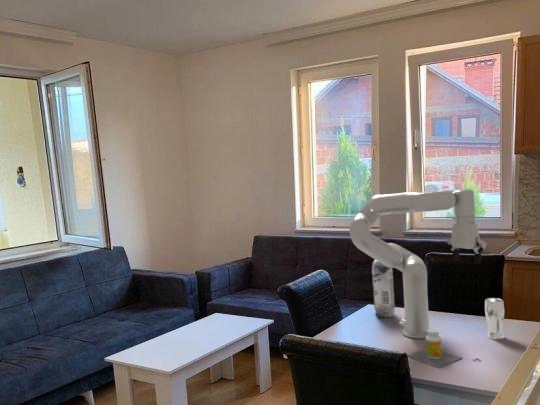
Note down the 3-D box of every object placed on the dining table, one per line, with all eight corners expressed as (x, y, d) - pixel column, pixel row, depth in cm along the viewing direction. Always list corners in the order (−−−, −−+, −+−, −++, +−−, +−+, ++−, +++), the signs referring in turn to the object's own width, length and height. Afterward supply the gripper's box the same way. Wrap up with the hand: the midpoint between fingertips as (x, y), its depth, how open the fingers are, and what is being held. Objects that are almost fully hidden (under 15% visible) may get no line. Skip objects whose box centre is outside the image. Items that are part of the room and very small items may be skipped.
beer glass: (507, 340, 178) (506, 302, 177) (488, 340, 179) (487, 302, 178) (502, 334, 184) (501, 297, 184) (484, 333, 186) (482, 297, 185)
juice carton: (392, 311, 223) (389, 257, 222) (395, 318, 213) (392, 261, 211) (373, 312, 224) (370, 258, 223) (376, 318, 214) (373, 262, 212)
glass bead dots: (471, 360, 162) (471, 359, 162) (476, 357, 163) (476, 357, 163) (478, 362, 160) (478, 361, 160) (482, 360, 161) (482, 359, 161)
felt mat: (407, 356, 169) (407, 355, 169) (430, 347, 175) (430, 346, 175) (439, 368, 157) (439, 367, 157) (462, 358, 164) (462, 357, 164)
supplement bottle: (424, 357, 166) (423, 331, 165) (428, 352, 170) (427, 327, 169) (440, 360, 162) (438, 333, 162) (443, 355, 167) (442, 329, 166)
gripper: (440, 220, 189) (442, 260, 189) (479, 221, 174) (481, 266, 175) (452, 218, 193) (453, 258, 193) (490, 219, 178) (492, 262, 179)
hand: (466, 261), depth 184 cm, fingers open, 9 cm apart
